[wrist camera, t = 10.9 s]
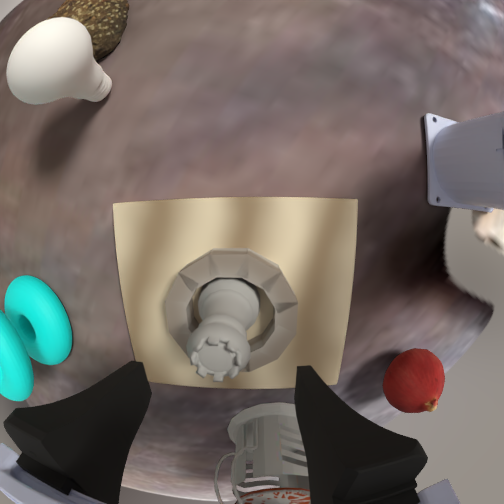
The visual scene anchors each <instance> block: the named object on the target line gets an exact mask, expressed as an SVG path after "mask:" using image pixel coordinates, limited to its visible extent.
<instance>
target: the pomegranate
mask: <svg viewBox="0 0 504 504" xmlns="http://www.w3.org/2000/svg"><path fill="white" fill-rule="evenodd" d="M444 382H445V375H444V370H443V365H442V363H441V361H440V360H439V359H438V358H437V357H436V356H435V355H434V354H433V353H432V352H430V351H428V350H427V349H416V348H414V349H410V350H407V351H405V352H403V353H401V354H399V355H398V356H397V357H396V358H395V359H394V360H393V361H392V362H391V364H390V366H389V367H388V369H387V370H386V373H385V376H384V381H383V390H384V394H385V396H386V399H387V400H388V402H389V403H390V404H391V405H392V406H393V407H395V408H396V409H398V410H400V411H402V412H405V413H420V412H423V411H429V412H431V411H433V410H435V409H436V408H437V405H438V399H439V397H440V396H441V394H442V391H443V387H444Z"/></svg>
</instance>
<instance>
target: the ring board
mask: <svg viewBox="0 0 504 504" xmlns="http://www.w3.org/2000/svg"><path fill="white" fill-rule="evenodd" d="M357 208H358V199H340V198H309V197H222V198H191V199H170V200H153V201H138V202H125V203H115V204H113V215H114V230H115V242H116V252H117V261H118V270H119V277H120V284H121V291H122V297H123V303H124V309H125V314H126V319H127V324H128V329H129V334H130V338H131V343H132V347H133V351H134V355H135V359H136V361H137V362H143V365H144V368H145V372H146V375H147V379H148V381H149V382H156V383H164V384H173V385H183V386H194V387H208V388H230V389H277V388H295V385H296V372H297V366H307V365H311V366H312V367H313V369H314V370H315V371H316V372H317V374H318V375H319V376H320V377H321V379H322V380H323V381H324V382H325V383H326V384H327V385H335V384H337V381H338V376H339V371H340V366H341V361H342V356H343V350H344V344H345V338H346V332H347V325H348V318H349V311H350V303H351V294H352V285H353V275H354V264H355V250H356V234H357ZM216 277H223V278H243V279H245V280H247V281H249V282H251V283H252V284H254V285H255V286H256V288H257V290H258V292H259V295H260V312H259V315H258V317H257V319H256V321H255V323H254V324H253V325H252V326H251V327H250V328H249V329H248V330H247V331H246V332H247V341H248V343H249V345H250V352H251V357H250V359H249V361H248V364H247V366H246V367H245V368H243V369H242V370H241V371H240V372H239V375H237V376H236V377H235V378H233V379H231V378H230V377H229V376H225V377H224V379H223V382H213V378H214V376H211V375H209V374H206V376H205V377H204V379H203V378H202V377H201V376H199V375H198V374H197V373H196V371H197V367H196V366H195V365H191V363H190V358H189V357H188V353H187V347H186V345H187V342H188V339H189V336H190V335H191V334H192V333H193V332H194V331H195V330H196V329H197V328H198V326H199V324H200V323H201V322H202V321H203V320H202V319H201V317H200V315H199V309H198V299H199V295H200V293H201V290H202V287H203V285H204V284H206V283H207V282H209V281H211V280H213V279H215V278H216Z"/></svg>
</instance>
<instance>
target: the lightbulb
mask: <svg viewBox="0 0 504 504" xmlns="http://www.w3.org/2000/svg"><path fill="white" fill-rule="evenodd" d="M6 74H7V81H8V85H9V88H10V90H11V92H12V93H13V94H14V95H15V96H16V97H17V98H18V99H20V100H21V101H23V102H25V103H29V104H45V103H48V102H52V101H55V100H58V99H60V98H63V97H73V98H76V99H86V100H88V101H92V102H98V101H101V100H102V99H104V98H105V97H106V96H107V95H108V93H109V92H110V90H111V86H112V81H111V79H110V77H109V76H108V75H106V74H105V73H104V72H103V69H102V67H101V66H100V65H99V64H98V63H97V62H96V61H95V59H94V57H93V48H92V42H91V36H90V34H89V33H88V31H87V29H86V27H85V26H84V25H82V24H81V23H80V22H79V21H77V20H74V19H71V18H66V17H59V18H52V19H48V20H46V21H43V22H40V23H39V24H37V25H35V26H34V27H33V28H31V29H30V30H29V31H27V32H26V33H25V34H24V35H23V36H22V37H21V39H20V40H19V41H18V42H17V44H16V45H15V47H14V49H13V51H12V53H11V55H10V58H9V61H8V65H7V73H6Z"/></svg>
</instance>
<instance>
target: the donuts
mask: <svg viewBox="0 0 504 504" xmlns="http://www.w3.org/2000/svg"><path fill="white" fill-rule="evenodd" d="M71 347H72V330H71V325H70V322H69V319H68V316H67V313H66V311H65V309H64V307H63V305H62V303H61V301H60V300H59V298H58V297H57V295H56V294H55V293H54V292H53V290H52V289H51V288H50V287H49V286H48V285H47V284H45V283H44V282H43V281H41V280H40V279H38V278H36V277H33V276H29V275H25V276H20V277H17V278H16V279H14V280H13V281H12V282H11V284H10V285H9V287H8V289H7V292H6V295H5V314H4V313H3V312H2V311H1V310H0V394H2V395H3V396H5V397H6V398H8V399H10V400H14V401H23V400H25V399H27V398H28V397H29V396H30V394H31V392H32V390H33V386H34V374H33V369H32V364H31V361H30V358H29V356H30V357H31V358H33V359H34V360H36V361H38V362H40V363H43V364H47V365H55V364H59V363H61V362H63V361H64V360H65V359H66V358H67V357H68V355H69V353H70V351H71Z"/></svg>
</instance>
